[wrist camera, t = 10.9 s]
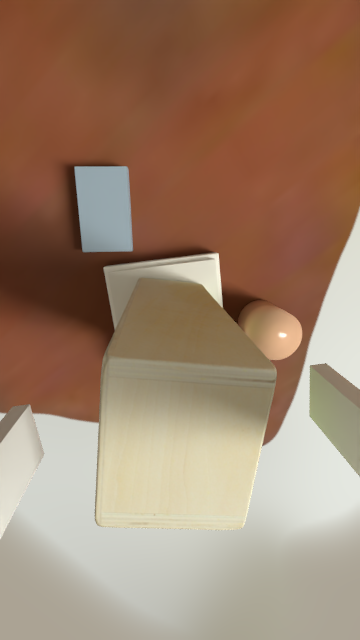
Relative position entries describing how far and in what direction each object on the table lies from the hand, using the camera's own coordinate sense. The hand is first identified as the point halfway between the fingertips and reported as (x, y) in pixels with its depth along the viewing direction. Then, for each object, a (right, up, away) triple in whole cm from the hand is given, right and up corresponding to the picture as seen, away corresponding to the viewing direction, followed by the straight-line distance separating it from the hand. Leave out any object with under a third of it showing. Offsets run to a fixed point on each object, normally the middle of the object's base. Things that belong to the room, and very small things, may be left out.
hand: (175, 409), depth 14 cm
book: (-7, +16, +18) cm, 25 cm away
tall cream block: (-1, +4, +18) cm, 19 cm away
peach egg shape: (+10, +4, +22) cm, 24 cm away
